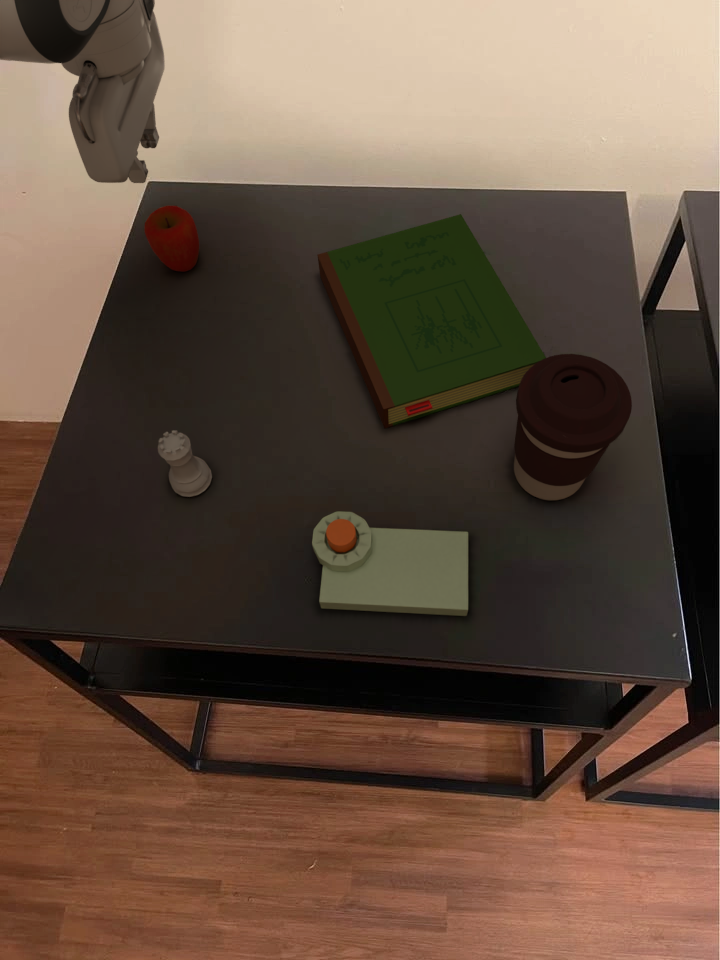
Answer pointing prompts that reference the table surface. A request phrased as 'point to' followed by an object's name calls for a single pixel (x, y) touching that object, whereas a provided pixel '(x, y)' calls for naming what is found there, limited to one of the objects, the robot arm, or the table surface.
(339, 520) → the button
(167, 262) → the apple
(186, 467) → the rook chess piece
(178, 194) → the table surface
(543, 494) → the coffee cup
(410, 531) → the scale
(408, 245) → the hardcover book
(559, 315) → the table surface
